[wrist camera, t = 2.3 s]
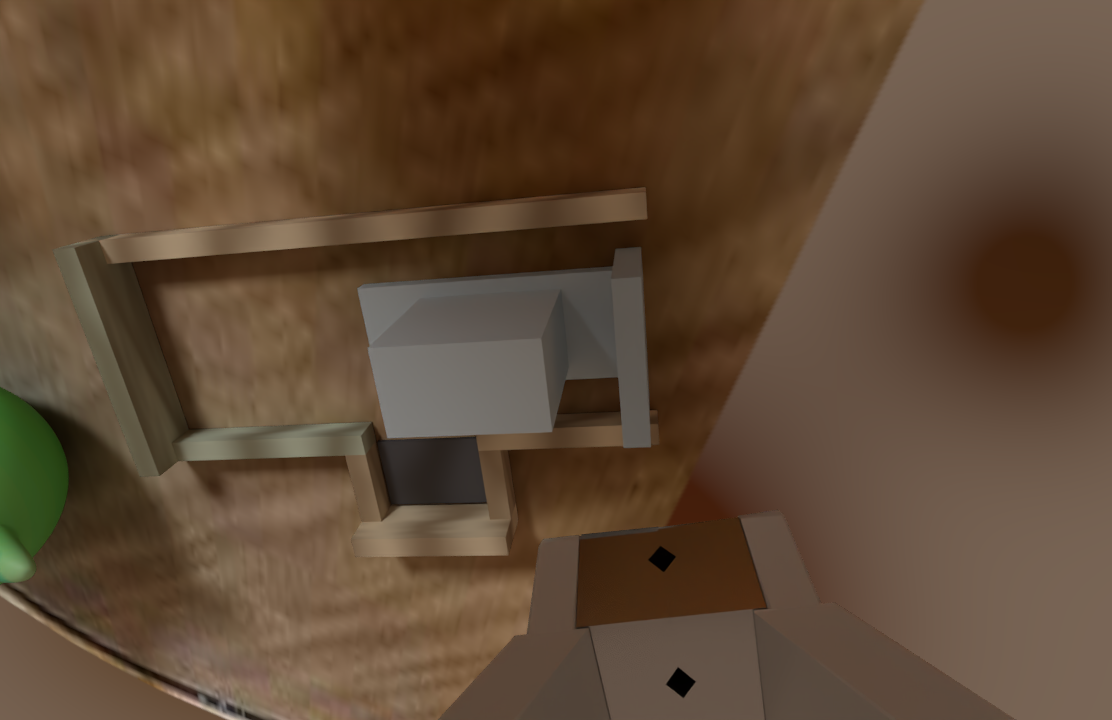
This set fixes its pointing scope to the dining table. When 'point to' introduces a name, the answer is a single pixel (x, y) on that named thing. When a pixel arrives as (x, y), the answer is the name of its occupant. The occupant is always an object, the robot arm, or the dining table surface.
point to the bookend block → (507, 348)
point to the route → (409, 465)
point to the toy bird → (27, 486)
